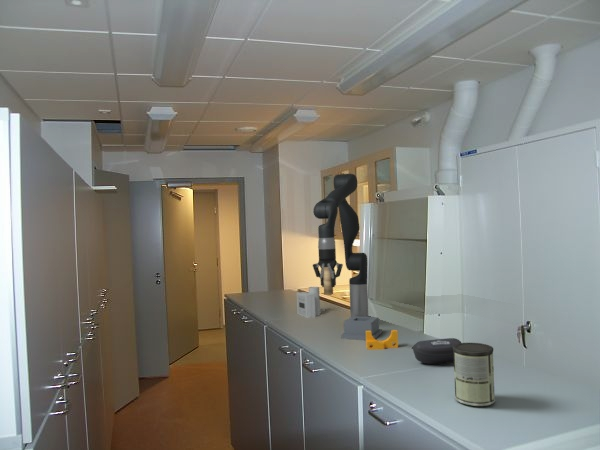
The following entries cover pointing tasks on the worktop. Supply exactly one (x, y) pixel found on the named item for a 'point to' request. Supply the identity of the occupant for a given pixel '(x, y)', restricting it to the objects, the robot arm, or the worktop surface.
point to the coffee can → (474, 374)
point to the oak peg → (327, 282)
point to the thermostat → (309, 303)
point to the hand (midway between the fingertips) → (328, 286)
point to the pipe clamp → (376, 344)
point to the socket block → (361, 327)
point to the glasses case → (435, 350)
